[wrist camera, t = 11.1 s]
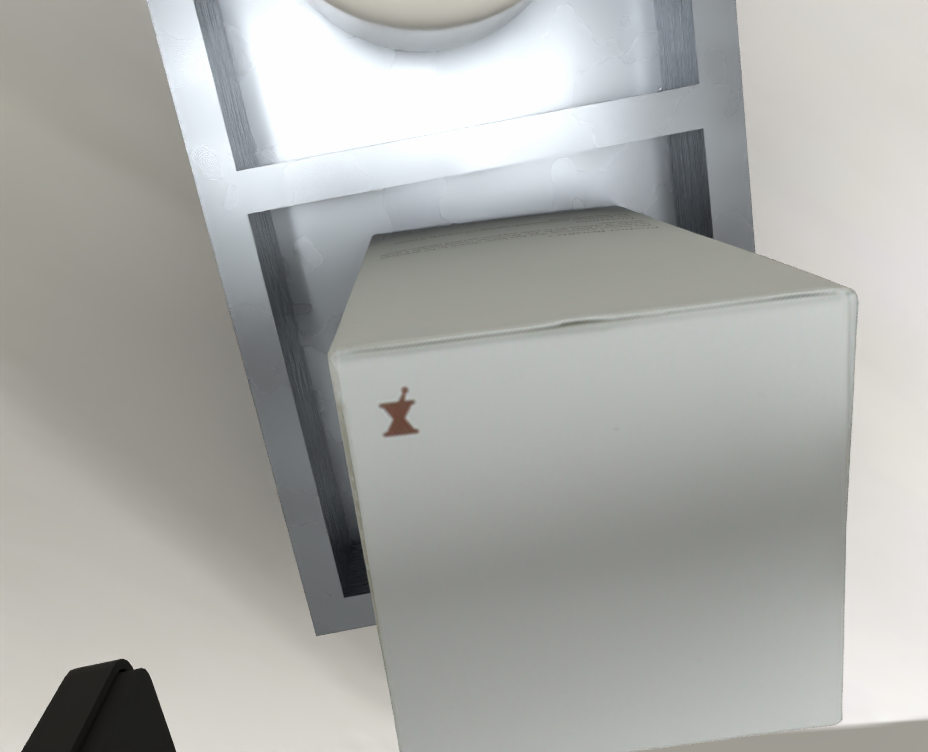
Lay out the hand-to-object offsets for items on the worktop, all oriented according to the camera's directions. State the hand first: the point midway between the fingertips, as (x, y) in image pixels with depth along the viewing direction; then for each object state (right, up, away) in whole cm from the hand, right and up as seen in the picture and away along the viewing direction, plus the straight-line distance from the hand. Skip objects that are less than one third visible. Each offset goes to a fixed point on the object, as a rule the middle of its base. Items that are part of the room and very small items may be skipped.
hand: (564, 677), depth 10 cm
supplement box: (0, +4, +15) cm, 15 cm away
